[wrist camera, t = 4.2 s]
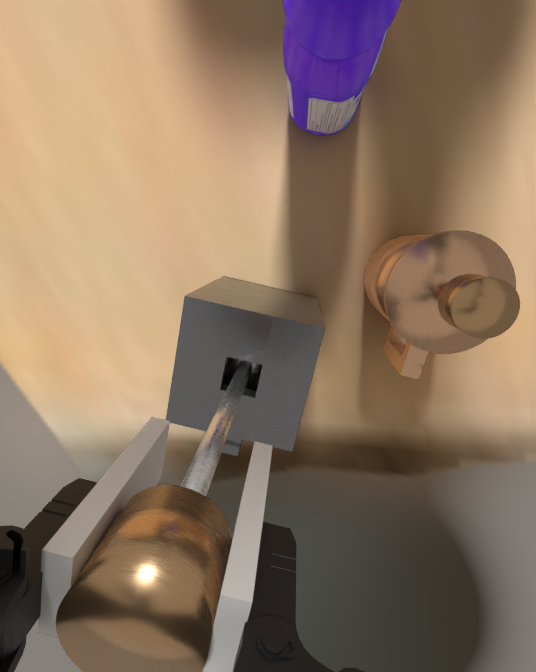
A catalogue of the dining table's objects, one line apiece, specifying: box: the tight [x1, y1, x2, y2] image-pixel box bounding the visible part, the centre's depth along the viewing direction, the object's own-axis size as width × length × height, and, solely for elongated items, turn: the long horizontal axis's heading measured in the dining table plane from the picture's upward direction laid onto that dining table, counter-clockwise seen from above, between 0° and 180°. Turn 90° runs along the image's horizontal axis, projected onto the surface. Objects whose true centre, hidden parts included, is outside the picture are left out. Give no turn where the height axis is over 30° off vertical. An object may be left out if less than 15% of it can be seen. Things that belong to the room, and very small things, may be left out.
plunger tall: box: [56, 357, 262, 672], centre depth 17 cm, size 7×7×19 cm
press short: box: [364, 231, 520, 379], centre depth 26 cm, size 11×8×15 cm
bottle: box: [283, 0, 401, 135], centre depth 21 cm, size 7×6×17 cm
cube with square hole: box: [166, 276, 325, 456], centre depth 30 cm, size 12×9×12 cm
